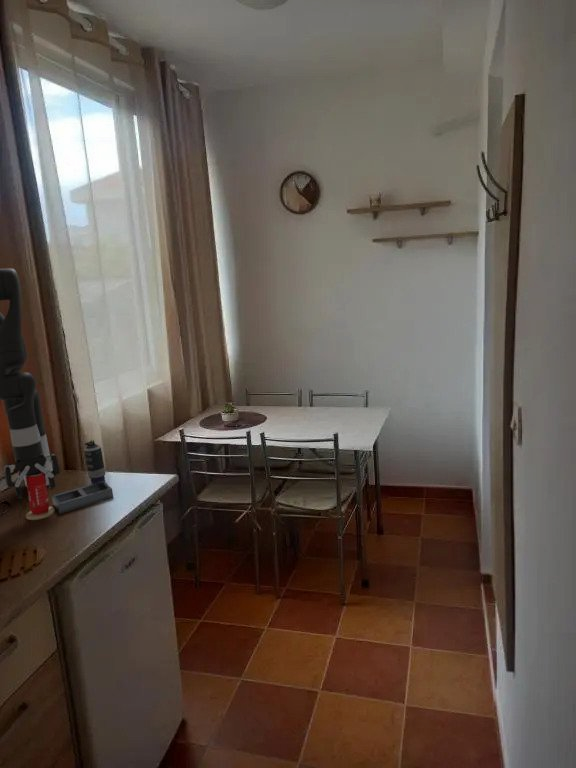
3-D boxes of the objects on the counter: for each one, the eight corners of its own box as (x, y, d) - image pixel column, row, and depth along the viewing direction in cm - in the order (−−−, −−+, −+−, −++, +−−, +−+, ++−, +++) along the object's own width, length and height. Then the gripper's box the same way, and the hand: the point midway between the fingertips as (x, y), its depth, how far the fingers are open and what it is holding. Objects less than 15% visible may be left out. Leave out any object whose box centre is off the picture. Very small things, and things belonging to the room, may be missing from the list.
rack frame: (53, 504, 168) (51, 495, 167) (105, 489, 176) (103, 480, 176) (59, 513, 160) (58, 504, 160) (113, 497, 169) (112, 488, 168)
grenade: (101, 486, 180) (94, 443, 177) (82, 486, 181) (75, 443, 178) (109, 479, 185) (102, 438, 182) (91, 480, 186) (84, 438, 183)
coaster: (24, 514, 163) (23, 512, 163) (52, 505, 167) (51, 504, 167) (28, 522, 156) (28, 520, 156) (57, 513, 161) (57, 512, 160)
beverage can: (43, 515, 159) (37, 476, 157) (27, 514, 159) (21, 476, 157) (53, 508, 164) (48, 470, 162) (37, 508, 164) (32, 470, 163)
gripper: (49, 432, 164) (59, 483, 167) (-3, 444, 156) (8, 497, 159) (54, 437, 158) (64, 489, 161) (0, 450, 150) (12, 504, 153)
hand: (36, 493), depth 160 cm, fingers open, 8 cm apart
